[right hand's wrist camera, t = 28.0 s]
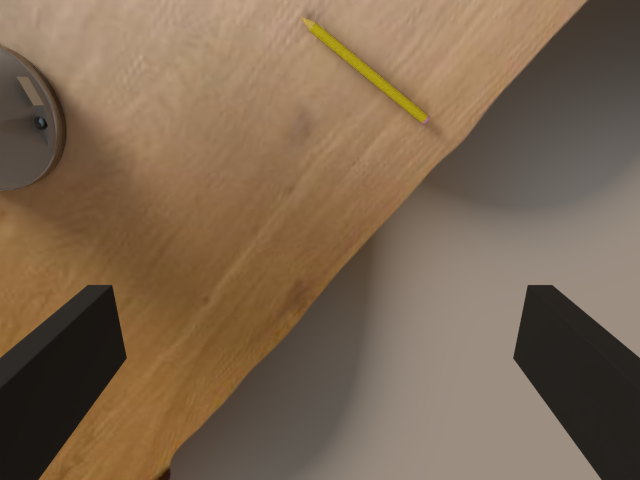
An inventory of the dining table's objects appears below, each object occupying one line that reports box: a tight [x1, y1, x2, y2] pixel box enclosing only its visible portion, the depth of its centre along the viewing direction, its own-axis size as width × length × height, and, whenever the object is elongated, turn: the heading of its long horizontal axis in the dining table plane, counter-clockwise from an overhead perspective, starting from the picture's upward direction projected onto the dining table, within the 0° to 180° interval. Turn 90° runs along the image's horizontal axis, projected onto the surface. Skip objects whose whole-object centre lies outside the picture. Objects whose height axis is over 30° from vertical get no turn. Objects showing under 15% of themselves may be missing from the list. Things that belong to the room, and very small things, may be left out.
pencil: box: [301, 17, 429, 124], centre depth 41 cm, size 16×1×1 cm, turn 54°
